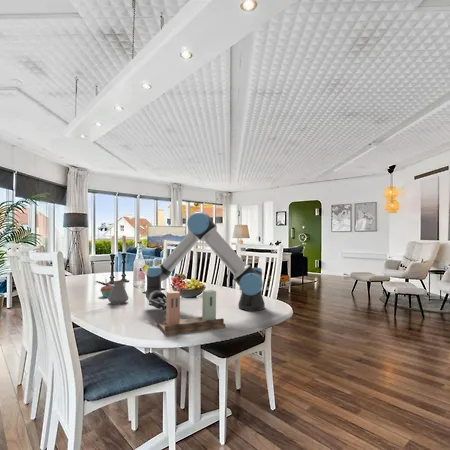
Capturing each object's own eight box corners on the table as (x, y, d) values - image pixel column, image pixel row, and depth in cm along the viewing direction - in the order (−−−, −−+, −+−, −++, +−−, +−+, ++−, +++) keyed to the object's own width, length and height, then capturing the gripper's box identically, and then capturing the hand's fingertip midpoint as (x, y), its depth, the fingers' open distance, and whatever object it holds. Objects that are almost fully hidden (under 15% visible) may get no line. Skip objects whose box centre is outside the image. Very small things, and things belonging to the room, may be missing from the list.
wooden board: (211, 319, 149) (211, 311, 149) (225, 327, 135) (225, 319, 135) (157, 325, 137) (157, 318, 137) (166, 335, 123) (166, 327, 123)
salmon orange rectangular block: (176, 321, 137) (177, 291, 138) (179, 324, 133) (180, 292, 134) (166, 323, 135) (166, 291, 135) (168, 325, 131) (169, 293, 132)
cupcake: (97, 296, 198) (97, 278, 198) (108, 294, 205) (109, 277, 205) (105, 298, 193) (105, 279, 194) (116, 296, 200) (117, 278, 201)
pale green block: (212, 319, 141) (212, 289, 141) (215, 322, 137) (216, 291, 138) (202, 321, 139) (202, 290, 139) (205, 323, 135) (206, 292, 135)
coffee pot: (120, 300, 189) (121, 276, 189) (132, 302, 182) (132, 277, 183) (88, 306, 171) (89, 280, 172) (100, 309, 165) (101, 282, 165)
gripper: (170, 304, 160) (184, 315, 139) (145, 307, 154) (156, 318, 133) (170, 290, 160) (184, 299, 139) (145, 292, 155) (156, 301, 133)
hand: (170, 308), depth 136 cm, fingers closed
